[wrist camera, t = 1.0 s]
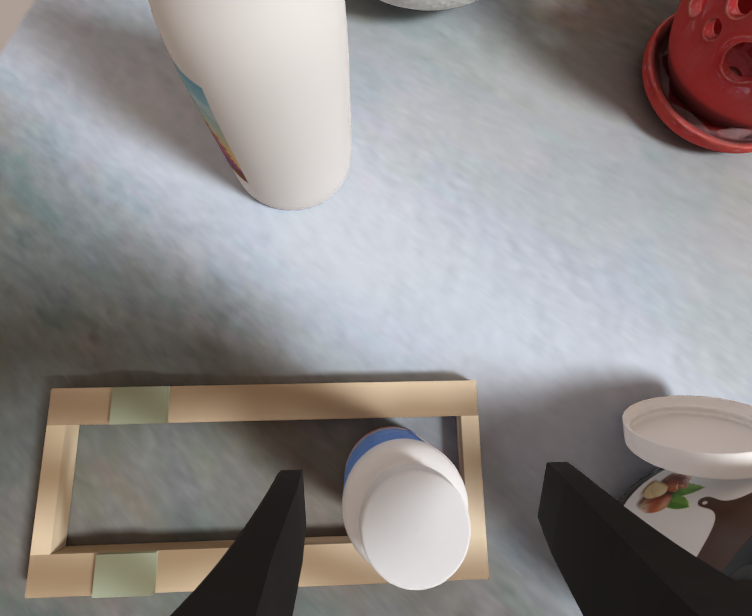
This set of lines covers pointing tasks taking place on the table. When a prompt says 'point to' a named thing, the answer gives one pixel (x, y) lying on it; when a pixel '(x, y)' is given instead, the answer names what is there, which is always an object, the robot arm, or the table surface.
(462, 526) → the pill bottle
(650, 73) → the plant pot
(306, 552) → the open wooden frame
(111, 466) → the table surface
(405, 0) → the cereal bowl
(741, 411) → the spread jar
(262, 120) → the milk bottle
